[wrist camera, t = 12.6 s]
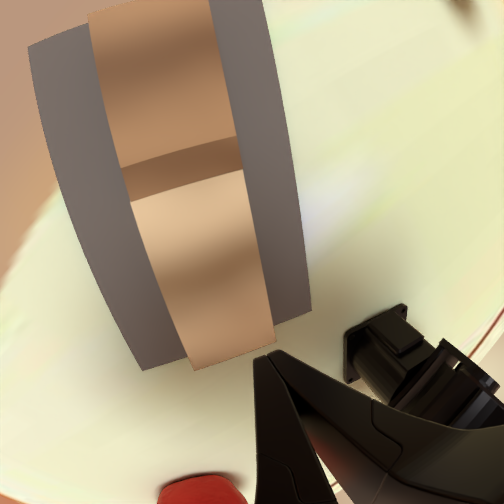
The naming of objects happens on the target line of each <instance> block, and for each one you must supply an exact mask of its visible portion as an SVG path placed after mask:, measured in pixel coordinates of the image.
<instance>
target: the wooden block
mask: <svg viewBox="0 0 504 504" xmlns="http://www.w3.org/2000/svg"><path fill="white" fill-rule="evenodd" d="M87 16H88V23H89V29H90V35H91V41H92V47H93V53H94V58H95V63H96V68H97V73H98V78H99V83H100V88H101V92H102V97H103V101H104V106H105V110H106V114H107V118H108V122H109V126H110V130H111V134H112V138H113V142H114V146H115V149H116V153H117V157H118V160H119V164H120V167H121V171H122V174H123V178H124V181H125V185H126V188H127V191H128V194H129V198H130V201H131V202H133V201H136V200H139V199H142V198H145V197H148V196H151V195H154V194H157V193H160V192H164V191H167V190H170V189H173V188H177V187H180V186H183V185H187V184H190V183H193V182H197V181H200V180H204V179H207V178H211V177H215V176H218V175H222V174H225V173H229V172H233V171H237V170H240V169H243V165H242V160H241V155H240V150H239V145H238V140H237V135H236V130H235V126H234V121H233V116H232V111H231V106H230V101H229V96H228V92H227V87H226V82H225V77H224V72H223V68H222V63H221V58H220V53H219V48H218V44H217V39H216V34H215V29H214V25H213V20H212V15H211V11H210V6H209V1H208V0H135V1H131V2H127V3H124V4H119V5H116V6H112V7H109V8H105V9H102V10H99V11H96V12H93V13H89V14H88V15H87Z"/></svg>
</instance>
